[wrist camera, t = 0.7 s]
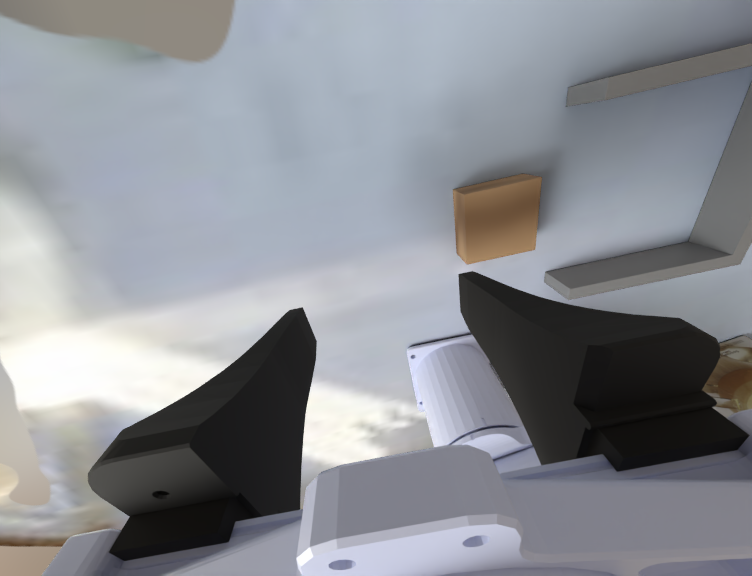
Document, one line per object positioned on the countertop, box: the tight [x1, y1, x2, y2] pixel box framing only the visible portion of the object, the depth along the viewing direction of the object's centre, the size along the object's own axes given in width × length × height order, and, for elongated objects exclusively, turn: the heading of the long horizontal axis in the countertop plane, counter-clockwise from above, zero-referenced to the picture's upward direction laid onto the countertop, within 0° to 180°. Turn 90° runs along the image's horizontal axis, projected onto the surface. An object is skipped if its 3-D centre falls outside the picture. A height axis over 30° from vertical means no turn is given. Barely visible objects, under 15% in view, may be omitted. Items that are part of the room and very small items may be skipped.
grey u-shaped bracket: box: [544, 43, 752, 300], centre depth 18 cm, size 14×13×3 cm
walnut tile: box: [453, 174, 542, 264], centre depth 19 cm, size 5×5×2 cm
